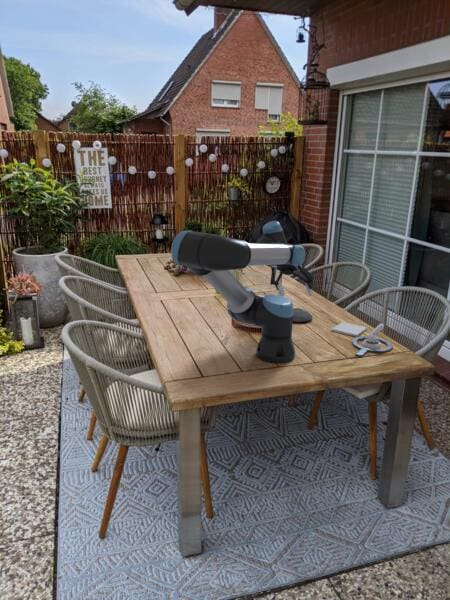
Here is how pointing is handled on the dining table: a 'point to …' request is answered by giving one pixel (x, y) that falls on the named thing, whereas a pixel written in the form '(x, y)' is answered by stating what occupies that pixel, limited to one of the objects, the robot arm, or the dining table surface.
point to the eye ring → (364, 350)
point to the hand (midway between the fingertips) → (297, 294)
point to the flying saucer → (301, 315)
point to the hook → (373, 338)
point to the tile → (349, 329)
